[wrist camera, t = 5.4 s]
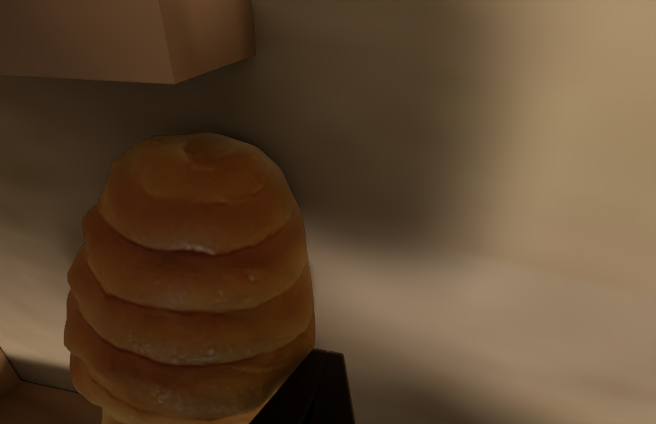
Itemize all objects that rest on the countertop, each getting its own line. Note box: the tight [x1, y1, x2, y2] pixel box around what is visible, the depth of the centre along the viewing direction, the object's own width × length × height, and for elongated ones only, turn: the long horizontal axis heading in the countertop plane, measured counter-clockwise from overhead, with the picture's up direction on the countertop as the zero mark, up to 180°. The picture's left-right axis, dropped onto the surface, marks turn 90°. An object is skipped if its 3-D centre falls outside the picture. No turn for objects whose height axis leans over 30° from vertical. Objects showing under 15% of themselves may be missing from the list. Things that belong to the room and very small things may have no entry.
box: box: [0, 0, 256, 424], centre depth 11 cm, size 16×14×3 cm
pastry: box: [64, 132, 315, 424], centre depth 10 cm, size 9×7×4 cm
